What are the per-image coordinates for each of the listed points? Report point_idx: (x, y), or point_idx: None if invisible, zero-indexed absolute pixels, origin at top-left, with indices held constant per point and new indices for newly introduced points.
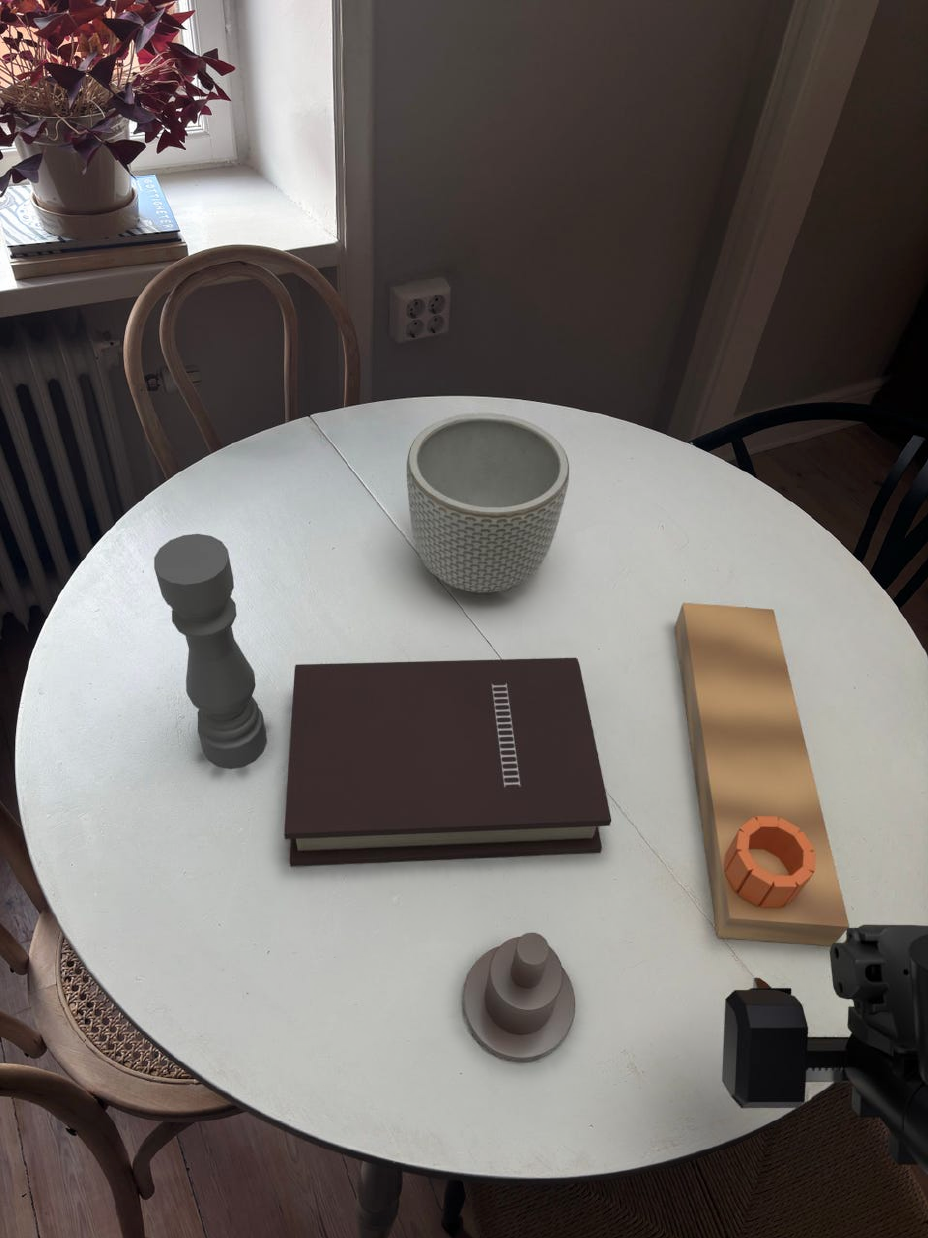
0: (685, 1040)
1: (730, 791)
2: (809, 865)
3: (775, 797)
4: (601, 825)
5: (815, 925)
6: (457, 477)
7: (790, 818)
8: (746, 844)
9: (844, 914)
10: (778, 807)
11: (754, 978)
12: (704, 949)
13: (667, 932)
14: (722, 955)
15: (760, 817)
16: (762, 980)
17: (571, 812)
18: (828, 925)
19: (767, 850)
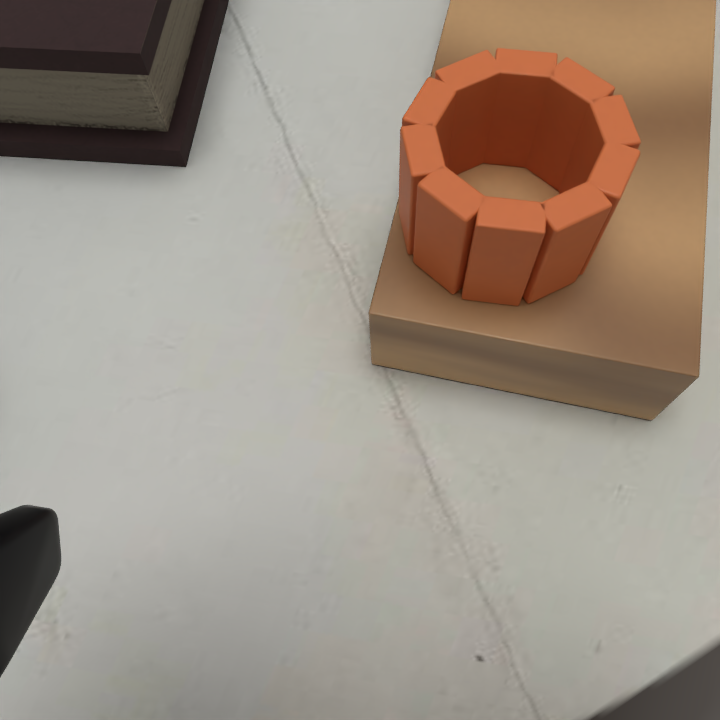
0: (200, 581)
1: (489, 40)
2: (608, 180)
3: (598, 61)
4: (128, 72)
5: (601, 360)
6: None
7: None
8: (435, 110)
9: (694, 343)
10: None
11: (14, 508)
12: (331, 385)
13: (261, 338)
14: (369, 403)
15: (506, 50)
16: (6, 530)
17: (53, 30)
18: (637, 365)
19: (532, 170)
